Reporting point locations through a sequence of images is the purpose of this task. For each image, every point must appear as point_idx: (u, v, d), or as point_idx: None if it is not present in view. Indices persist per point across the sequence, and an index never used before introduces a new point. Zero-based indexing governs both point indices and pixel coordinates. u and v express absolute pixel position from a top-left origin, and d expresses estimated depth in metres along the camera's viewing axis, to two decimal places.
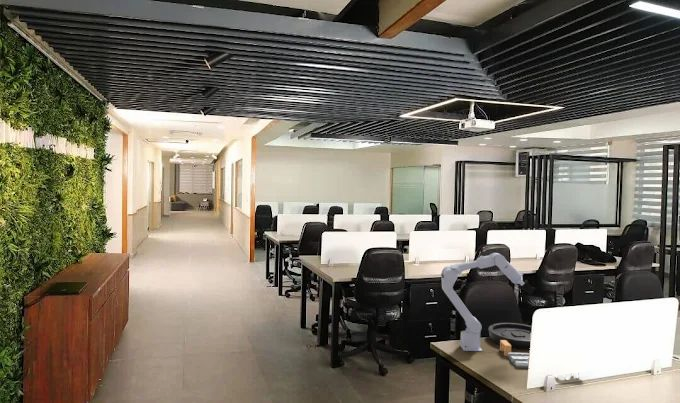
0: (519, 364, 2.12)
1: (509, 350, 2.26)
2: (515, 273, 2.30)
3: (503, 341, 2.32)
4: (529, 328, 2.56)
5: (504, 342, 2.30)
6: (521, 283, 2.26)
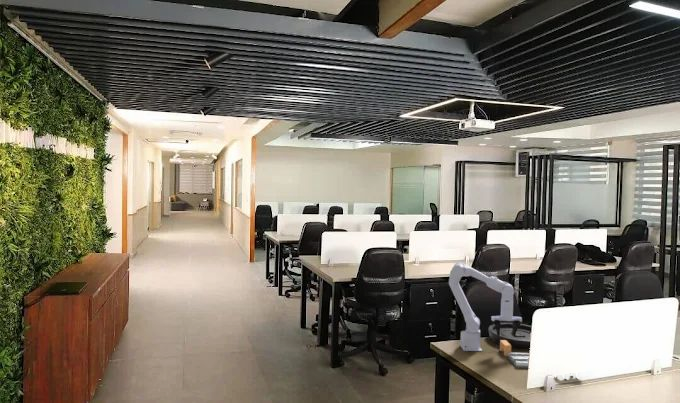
0: (519, 364, 2.12)
1: (509, 350, 2.26)
2: (502, 311, 2.28)
3: (503, 341, 2.32)
4: (529, 328, 2.56)
5: (504, 342, 2.30)
6: (491, 318, 2.30)
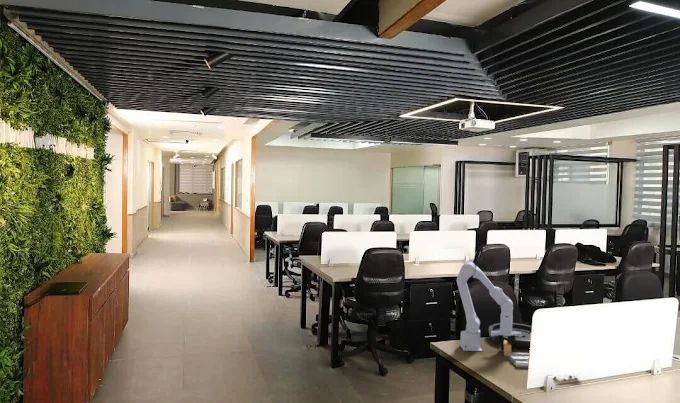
0: (519, 364, 2.12)
1: (509, 350, 2.26)
2: (501, 326, 2.28)
3: None
4: (529, 328, 2.56)
5: (504, 342, 2.30)
6: (491, 333, 2.30)
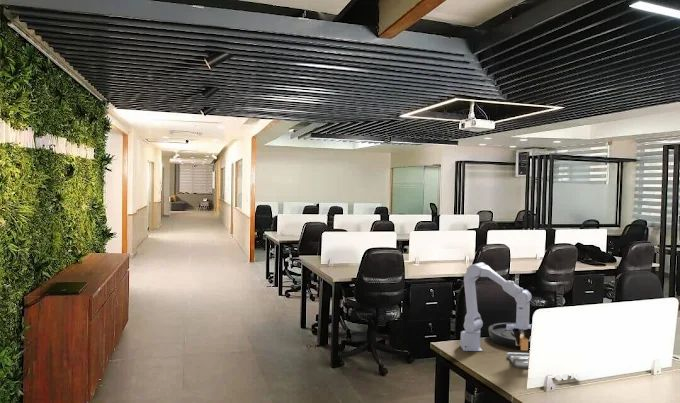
0: (519, 364, 2.12)
1: (526, 344, 2.15)
2: (518, 319, 2.17)
3: None
4: None
5: (520, 336, 2.19)
6: (506, 326, 2.18)
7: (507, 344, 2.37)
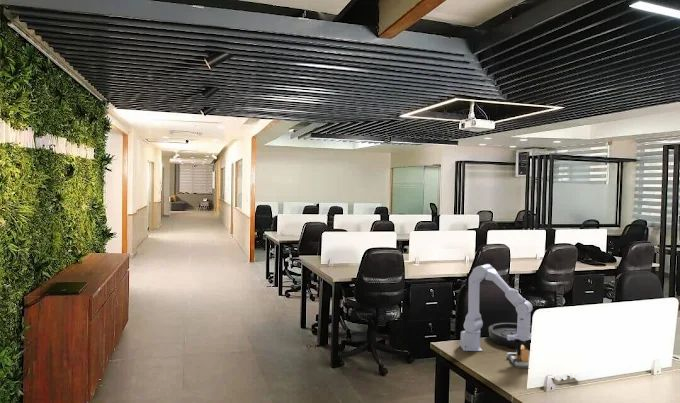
0: (519, 364, 2.12)
1: (527, 355, 2.14)
2: (519, 330, 2.16)
3: None
4: None
5: (521, 347, 2.18)
6: (507, 337, 2.18)
7: (507, 344, 2.37)
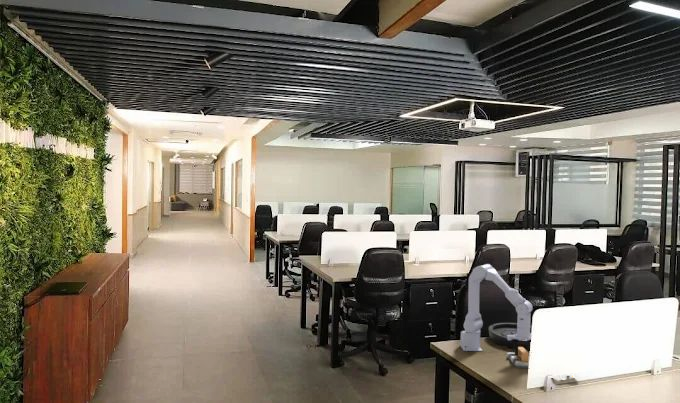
0: (519, 364, 2.12)
1: (527, 358, 2.14)
2: (519, 330, 2.16)
3: (520, 348, 2.20)
4: None
5: (521, 349, 2.18)
6: (507, 337, 2.18)
7: (507, 344, 2.37)
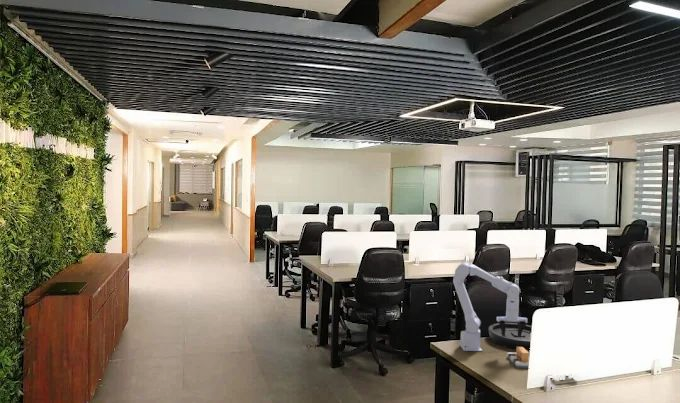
0: (519, 364, 2.12)
1: (527, 358, 2.14)
2: (507, 312, 2.26)
3: (520, 348, 2.20)
4: (529, 328, 2.56)
5: (521, 349, 2.18)
6: None
7: (507, 344, 2.37)
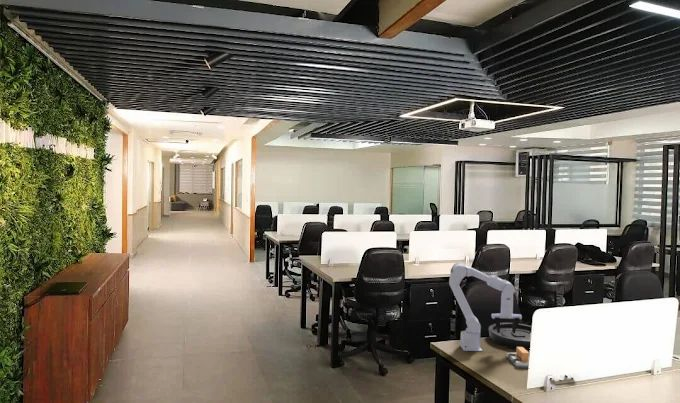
0: (519, 364, 2.12)
1: (527, 358, 2.14)
2: (502, 309, 2.31)
3: (520, 348, 2.20)
4: (529, 328, 2.56)
5: (521, 349, 2.18)
6: None
7: (507, 344, 2.37)
